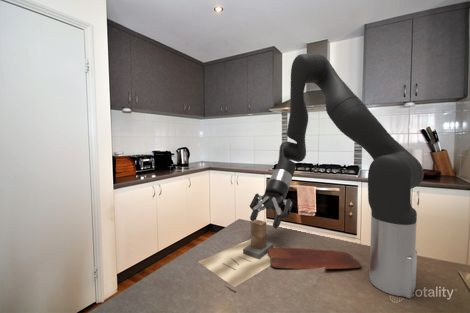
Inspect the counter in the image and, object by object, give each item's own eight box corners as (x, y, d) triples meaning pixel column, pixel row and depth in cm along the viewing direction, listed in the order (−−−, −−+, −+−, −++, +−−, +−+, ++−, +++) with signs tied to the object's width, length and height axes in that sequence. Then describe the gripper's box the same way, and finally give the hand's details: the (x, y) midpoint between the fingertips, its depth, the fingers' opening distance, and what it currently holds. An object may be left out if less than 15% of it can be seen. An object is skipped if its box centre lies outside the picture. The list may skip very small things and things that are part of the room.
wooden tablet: (272, 271, 62) (272, 265, 62) (265, 250, 72) (266, 246, 72) (366, 272, 63) (367, 266, 63) (347, 252, 73) (347, 247, 73)
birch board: (290, 257, 71) (290, 253, 71) (234, 293, 55) (234, 287, 55) (253, 241, 83) (253, 237, 83) (198, 266, 67) (197, 261, 67)
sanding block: (273, 248, 75) (273, 219, 74) (259, 259, 68) (259, 228, 67) (258, 243, 78) (257, 216, 78) (243, 253, 71) (242, 224, 71)
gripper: (258, 176, 85) (240, 214, 77) (294, 180, 76) (278, 223, 68) (265, 188, 90) (249, 224, 81) (300, 192, 81) (286, 234, 73)
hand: (262, 224), depth 75 cm, fingers open, 8 cm apart
